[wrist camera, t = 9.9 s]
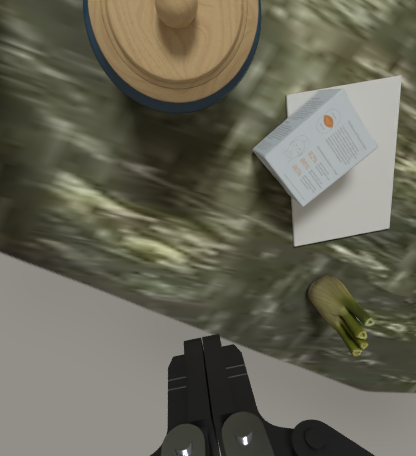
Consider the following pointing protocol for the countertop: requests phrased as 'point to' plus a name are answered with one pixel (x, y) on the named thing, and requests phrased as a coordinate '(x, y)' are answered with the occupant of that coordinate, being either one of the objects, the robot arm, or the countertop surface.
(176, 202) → the countertop surface
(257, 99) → the countertop surface
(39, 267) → the countertop surface
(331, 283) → the fennel bulb
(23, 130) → the countertop surface
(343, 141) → the small box
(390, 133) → the mat
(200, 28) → the canister
